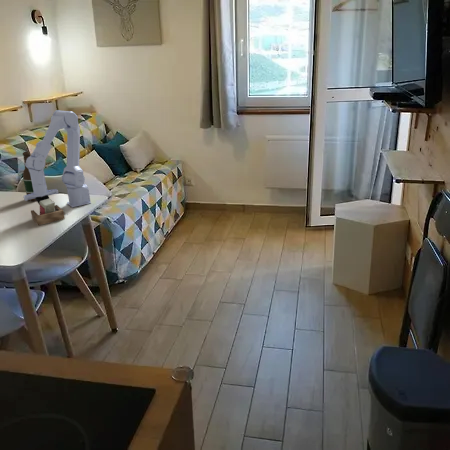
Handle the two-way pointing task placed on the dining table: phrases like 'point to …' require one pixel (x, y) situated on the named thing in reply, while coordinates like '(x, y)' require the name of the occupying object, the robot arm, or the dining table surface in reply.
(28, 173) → the beer bottle
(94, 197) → the dining table surface
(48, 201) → the small box
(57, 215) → the walnut shelf bay
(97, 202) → the dining table surface
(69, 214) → the dining table surface
